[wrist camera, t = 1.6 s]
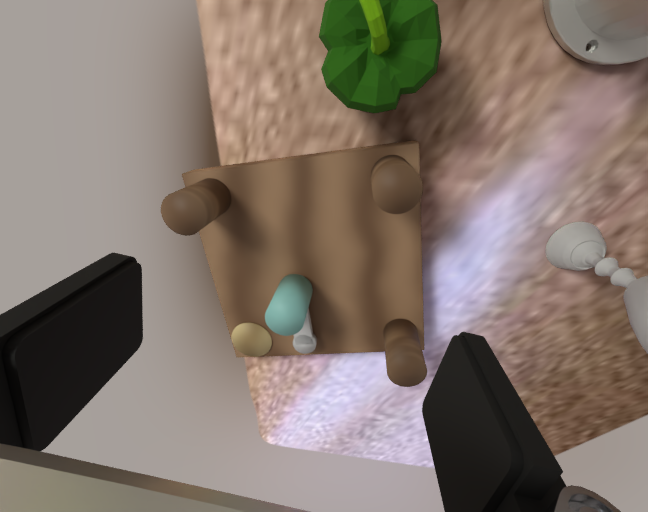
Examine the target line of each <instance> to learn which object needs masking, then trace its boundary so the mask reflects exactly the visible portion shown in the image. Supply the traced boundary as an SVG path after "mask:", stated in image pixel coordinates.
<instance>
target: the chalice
mask: <svg viewBox="0 0 648 512" xmlns="http://www.w3.org/2000/svg"><path fill="white" fill-rule="evenodd" d="M606 249H607V248H606V243H605V242H604V238H603V237H602V235H601V232H600V231H599V229H598V228H597V227H596V226H594V225H593V224H591V223H587V222H573V223H570V224H567V225H564V226H563V227H561V228H560V229H558V230H557V231H556V232H555V233H554V234H553V235H552V236H551V237H550V239H549V241H548V243H547V245H546V256H547V259H548V260H549V262H550V263H551V264H552V265H554V266H556V267H558V268H562V269H570V270H577V271H580V270H586V269H590V268H593V267H595V273H596V274H597V275H599V276H610V278H611V283H612V284H613V285H615V286H623V287H626V288H627V289H626V290H625V293H624V302H625V306H626V310H627V313H628V317H629V321H630V324H631V326H632V328H633V330H634V332H635V334H636V336H637V338H638V340H639V342H640V344H641V345H642V347H643V348H644V350H645V351H646V353H647V354H648V276H644V277H641V278H639V279H637V278H636V277H635V276H634V273H633V271H632V270H631V269H629V268H619V267H618V261H617V260H616V259H614V258H604V256H605V253H606Z"/></svg>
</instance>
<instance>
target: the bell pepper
mask: <svg viewBox="0 0 648 512" xmlns="http://www.w3.org/2000/svg"><path fill="white" fill-rule="evenodd" d="M319 38H320V39H321V41H322V42H323V44H324V45H325V47H326V48H327V50H328V53H327V56H326V58H325V61H324V64H323V66H322V69H321V70H322V73H323V77H324V80H325V83H326V86H327V88H328V89H329V90H330V91H331V92H332V93H333V94H334V95H335V96H336V97H337V98H338V99H339V100H340V101H341V102H342V103H343V104H345V105H346V106H347V107H348V108H352V109H356V110H361V111H366V112H370V113H379V112H383V111H388V110H393V109H396V107H397V104H398V101H399V98H400V96H401V94H410V93H416V92H417V91H418V90H419V89H420V88H421V87H422V86H423V85H424V84H425V83H426V82H427V81H428V80H429V79H430V78H431V77H432V76H433V75H434V74H435V73H436V71H437V65H438V60H439V54H440V48H441V33H440V24H439V15H438V6H437V4H436V3H435V2H433V1H432V0H328V1H327V2H326V3H325V7H324V12H323V18H322V23H321V28H320V34H319Z"/></svg>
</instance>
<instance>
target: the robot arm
mask: <svg viewBox="0 0 648 512" xmlns="http://www.w3.org/2000/svg"><path fill="white" fill-rule="evenodd" d="M543 4H544V11H545V15H546V20H547V24H548V26H549V28H550V30H551V32H552V34H553V37H554V38H555V39H556V41H557V42H558V43H559V44H560V46H561V47H562V48H563V49H564V50H565V51H567V52H568V53H569V54H571V55H572V56H573V57H575V58H577V59H580V60H582V61H585V62H587V63H592V64H598V65H617V64H624V63H629V62H635V61H638V60H641V59H644V58H647V57H648V0H543ZM586 45H587V46H588V49H587V51H586ZM142 322H143V321H142V269H141V265H140V264H139V263H137V261H136V259H135V258H134V257H131V256H126V255H122V254H118V253H111V254H109V255H107V256H105V257H103V258H101V259H100V260H98V261H96V262H94V263H93V264H91V265H89V266H87V267H85V268H83V269H82V270H80V271H78V272H76V273H74V274H73V275H71V276H69V277H67V278H66V279H64V280H62V281H60V282H58V283H57V284H55V285H53V286H51V287H49V288H48V289H46V290H44V291H42V292H40V293H39V294H37V295H35V296H33V297H32V298H30V299H28V300H26V301H24V302H23V303H21V304H19V305H17V306H15V307H14V308H12V309H10V310H8V311H7V312H5V313H3V314H1V315H0V512H309V511H305V510H300V509H296V508H291V507H287V506H283V505H278V504H274V503H269V502H265V501H261V500H256V499H252V498H247V497H243V496H238V495H234V494H230V493H225V492H221V491H216V490H212V489H207V488H203V487H198V486H194V485H189V484H185V483H181V482H176V481H171V480H167V479H162V478H158V477H154V476H149V475H145V474H140V473H136V472H131V471H127V470H122V469H117V468H113V467H108V466H103V465H99V464H95V463H90V462H86V461H81V460H76V459H72V458H67V457H62V456H58V455H54V454H49V453H44V452H40V451H42V450H43V449H45V448H46V447H47V446H48V445H49V444H50V443H51V442H52V441H53V440H54V439H55V438H56V437H57V436H58V434H59V433H60V432H61V431H62V430H63V429H64V428H65V427H66V426H67V425H68V424H69V423H70V422H71V421H72V419H73V418H74V417H75V416H76V415H77V414H78V413H79V412H80V411H81V410H82V409H83V408H84V406H85V405H86V404H87V403H88V402H89V401H90V400H91V399H92V398H93V397H94V396H95V395H96V394H97V393H98V392H99V391H100V389H101V388H102V387H103V386H104V385H105V384H106V383H107V382H108V381H109V380H110V379H111V378H112V377H113V376H114V374H115V373H116V372H117V371H118V370H119V369H120V368H121V367H122V366H123V365H124V364H125V363H126V362H127V361H128V359H129V358H130V357H131V356H132V355H133V354H134V353H135V352H136V351H137V350H138V348H139V347H140V345H141V343H142V339H143V325H142V324H143V323H142ZM422 412H423V418H424V422H425V426H426V431H427V435H428V440H429V444H430V448H431V453H432V457H433V462H434V466H435V470H436V474H437V479H438V483H439V487H440V492H441V496H442V501H443V505H444V510H445V512H621V511H620V510H618V509H617V508H616V507H615V506H613V505H612V504H611V503H610V502H608V501H607V500H606V499H604V498H603V497H601V496H599V495H598V494H596V493H595V492H593V491H590V490H587V489H585V488H583V487H579V486H572V485H571V486H568V487H567V486H566V485H565V483H564V481H563V479H562V478H561V476H560V475H561V474H562V473H563V471H562V469H561V467H560V465H559V464H558V462H557V460H556V459H555V457H554V455H553V454H552V452H551V450H550V448H549V447H548V445H547V443H546V442H545V440H544V438H543V436H542V435H541V433H540V431H539V430H538V428H537V426H536V425H535V423H534V421H533V419H532V418H531V416H530V414H529V413H528V411H527V409H526V408H525V406H524V404H523V402H522V401H521V399H520V397H519V396H518V394H517V392H516V390H515V389H514V387H513V385H512V384H511V382H510V380H509V379H508V377H507V375H506V373H505V372H504V370H503V368H502V367H501V365H500V363H499V361H498V360H497V358H496V356H495V355H494V353H493V351H492V350H491V348H490V346H489V344H488V343H487V341H486V339H485V338H484V337H483V336H479V335H475V334H471V333H466V332H461V333H460V334H459V336H457V335H455V336H453V337H452V339H451V341H450V344H449V346H448V348H447V350H446V352H445V355H444V357H443V359H442V361H441V364H440V366H439V368H438V370H437V373H436V375H435V377H434V379H433V381H432V384H431V386H430V388H429V390H428V393H427V395H426V397H425V399H424V402H423V408H422Z"/></svg>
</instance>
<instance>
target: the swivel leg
mask: <svg viewBox="0 0 648 512" xmlns="http://www.w3.org/2000/svg"><path fill="white" fill-rule="evenodd" d="M312 292H313V288H312V285H311V283H310V281H309V280H308V279H307V278H305V277H304V276H302V275H299V274H290V275H287V276H285V277H284V278H283V279H282V280H281V281H280V283H279V285H278V287H277V289H276V292H275V294H274V296H273V298H272V300H271V302H270V304H269V306H268V308H267V310H266V313H265V321H266V324H267V326H268V327H269V328H270V329H271V330H272V331H273V332H275V333H277V334H279V335H283V336H290V335H294V339H293V347H294V348H295V350H297V351H298V352H300V353H303V354H308V353H311V352H313V351H314V350H315V348H316V344H317V338H316V336H315V335H314V334H313V330H312V324H311V319H310V314H309V308H308V307H309V304H310V300H311V296H312Z"/></svg>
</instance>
